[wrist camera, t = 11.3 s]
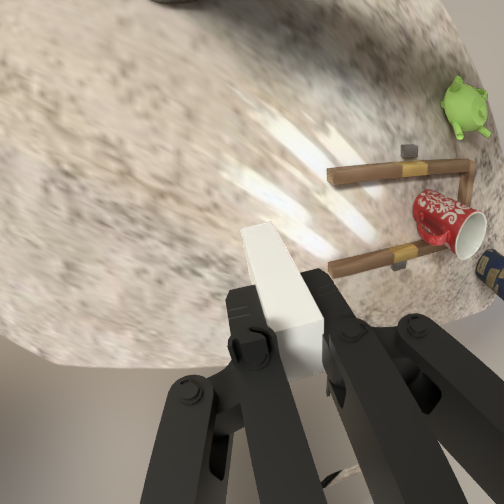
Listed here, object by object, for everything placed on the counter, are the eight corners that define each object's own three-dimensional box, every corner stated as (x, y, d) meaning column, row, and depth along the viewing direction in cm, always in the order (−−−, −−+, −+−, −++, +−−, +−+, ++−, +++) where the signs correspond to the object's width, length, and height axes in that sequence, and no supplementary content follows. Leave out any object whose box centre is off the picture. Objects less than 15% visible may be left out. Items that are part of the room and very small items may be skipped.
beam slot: (325, 149, 41) (332, 152, 39) (468, 145, 44) (476, 148, 42) (327, 284, 54) (332, 292, 51) (453, 249, 56) (460, 255, 54)
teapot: (467, 81, 37) (498, 85, 30) (469, 134, 43) (499, 144, 36) (431, 74, 36) (465, 76, 29) (434, 133, 42) (467, 143, 35)
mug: (442, 181, 47) (491, 207, 35) (438, 222, 52) (481, 253, 40) (395, 189, 46) (445, 220, 35) (393, 234, 51) (436, 272, 39)
